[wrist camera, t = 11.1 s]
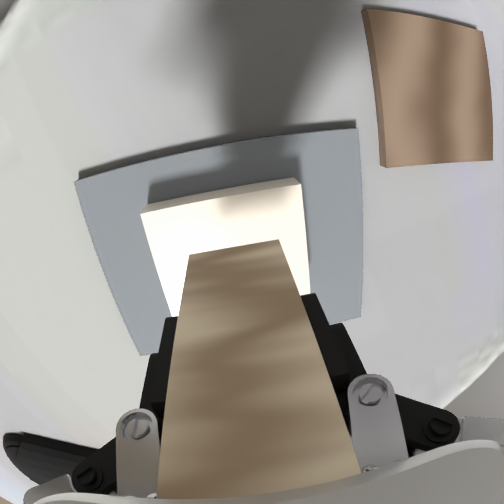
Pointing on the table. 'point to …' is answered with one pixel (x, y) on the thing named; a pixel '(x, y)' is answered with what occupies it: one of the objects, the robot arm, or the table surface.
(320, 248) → the mat
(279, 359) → the block
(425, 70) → the plate
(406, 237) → the table surface
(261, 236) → the tile
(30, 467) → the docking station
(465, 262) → the table surface
